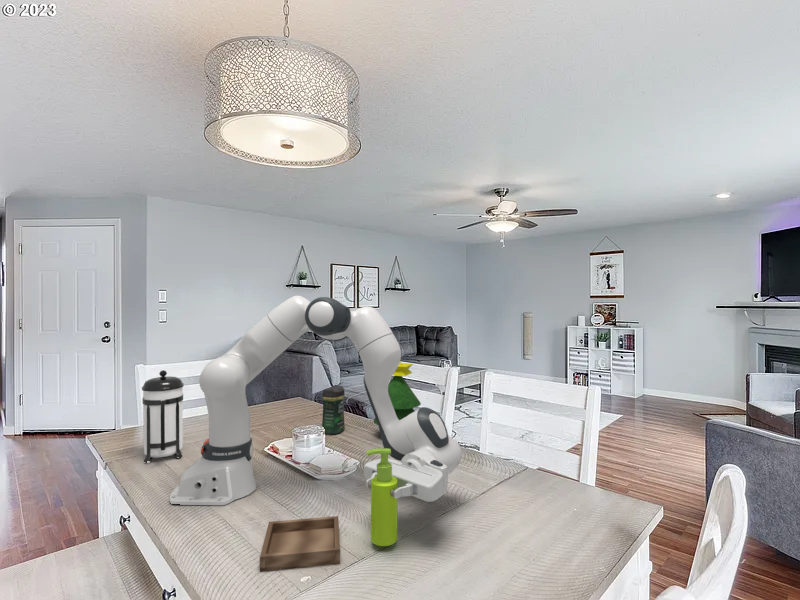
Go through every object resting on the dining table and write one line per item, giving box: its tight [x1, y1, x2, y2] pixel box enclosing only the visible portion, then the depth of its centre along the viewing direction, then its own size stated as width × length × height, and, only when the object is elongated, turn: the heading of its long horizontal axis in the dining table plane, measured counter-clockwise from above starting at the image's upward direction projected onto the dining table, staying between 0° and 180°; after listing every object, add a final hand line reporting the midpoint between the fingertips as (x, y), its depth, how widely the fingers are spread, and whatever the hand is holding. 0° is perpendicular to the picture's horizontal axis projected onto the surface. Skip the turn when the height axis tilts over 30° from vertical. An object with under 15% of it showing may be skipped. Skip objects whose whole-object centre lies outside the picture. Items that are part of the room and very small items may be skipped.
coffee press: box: [141, 369, 185, 464], centre depth 151 cm, size 17×16×30 cm
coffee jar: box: [321, 385, 346, 436], centre depth 179 cm, size 10×8×19 cm
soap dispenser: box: [366, 447, 398, 547], centre depth 97 cm, size 6×7×20 cm
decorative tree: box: [373, 361, 422, 426], centre depth 174 cm, size 19×19×30 cm
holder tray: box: [259, 515, 341, 573], centre depth 96 cm, size 16×14×3 cm
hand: (380, 489), depth 96 cm, fingers closed on soap dispenser, 6 cm apart
